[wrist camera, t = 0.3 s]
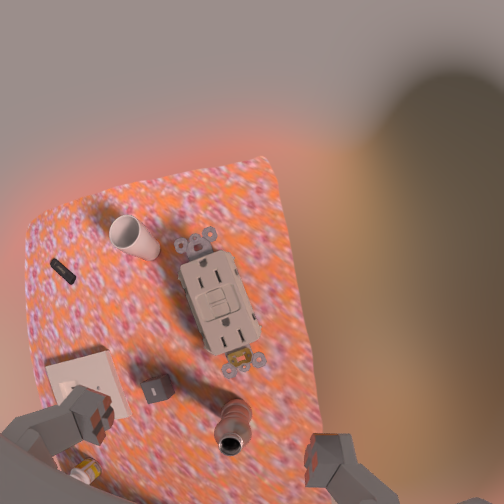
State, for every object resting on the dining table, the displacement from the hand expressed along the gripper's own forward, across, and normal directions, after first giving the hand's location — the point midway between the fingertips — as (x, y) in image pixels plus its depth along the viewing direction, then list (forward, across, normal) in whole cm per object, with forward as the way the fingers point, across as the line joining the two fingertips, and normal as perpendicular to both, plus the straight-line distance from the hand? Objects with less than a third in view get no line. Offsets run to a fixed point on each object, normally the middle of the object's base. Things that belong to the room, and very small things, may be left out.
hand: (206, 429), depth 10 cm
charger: (+40, -17, -37) cm, 57 cm away
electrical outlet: (+50, -6, -19) cm, 54 cm away
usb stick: (+51, -48, -18) cm, 72 cm away
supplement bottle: (+27, -34, -63) cm, 76 cm away
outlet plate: (+37, -36, -43) cm, 67 cm away
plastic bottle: (+40, 0, -39) cm, 56 cm away
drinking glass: (+54, -25, -10) cm, 61 cm away
